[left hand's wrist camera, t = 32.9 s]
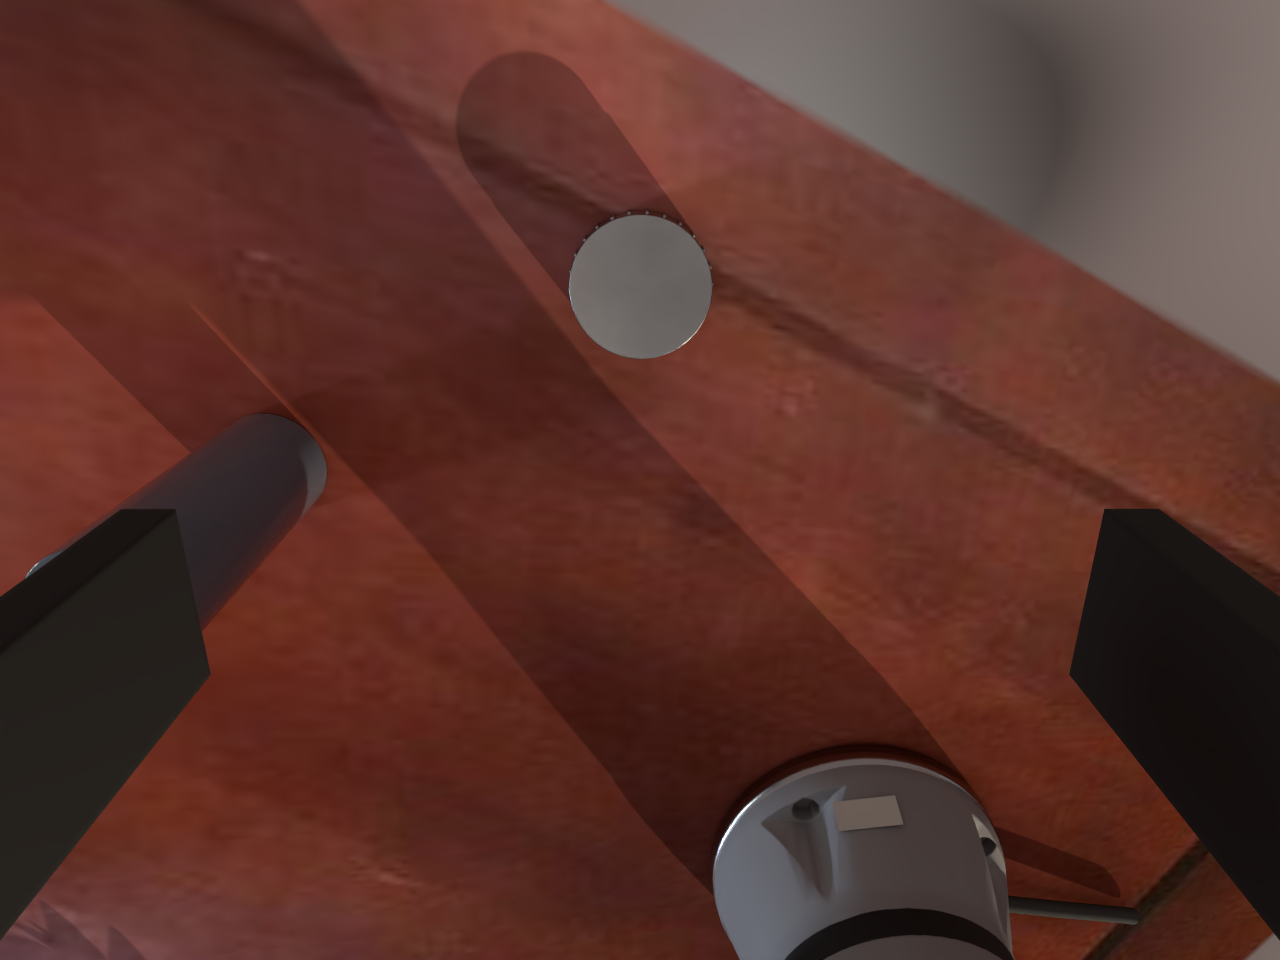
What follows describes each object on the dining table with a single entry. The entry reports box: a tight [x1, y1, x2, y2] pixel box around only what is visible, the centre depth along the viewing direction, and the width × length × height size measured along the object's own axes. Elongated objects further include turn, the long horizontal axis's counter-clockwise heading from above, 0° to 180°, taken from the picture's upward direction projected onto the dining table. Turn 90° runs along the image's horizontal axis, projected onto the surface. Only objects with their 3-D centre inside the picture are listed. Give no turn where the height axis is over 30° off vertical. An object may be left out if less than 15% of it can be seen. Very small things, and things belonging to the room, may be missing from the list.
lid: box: [568, 209, 714, 359], centre depth 36 cm, size 6×6×2 cm
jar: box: [25, 414, 327, 631], centre depth 32 cm, size 5×5×15 cm
